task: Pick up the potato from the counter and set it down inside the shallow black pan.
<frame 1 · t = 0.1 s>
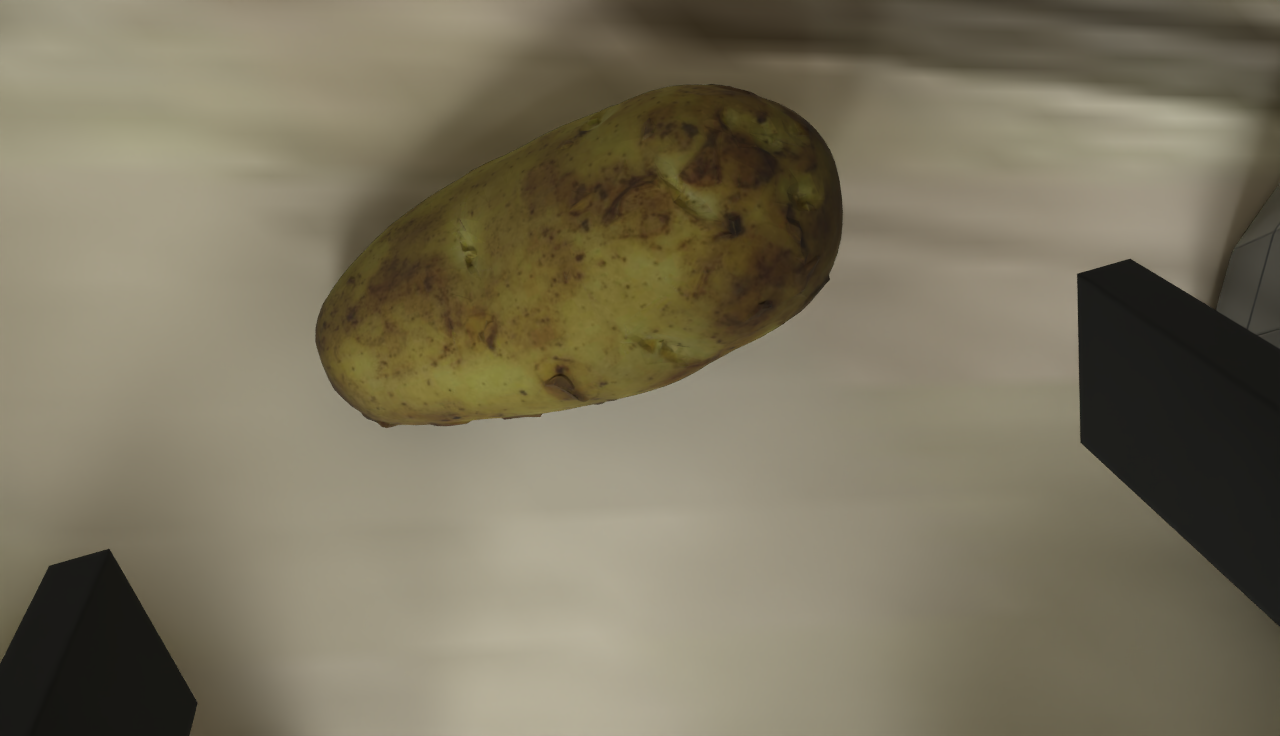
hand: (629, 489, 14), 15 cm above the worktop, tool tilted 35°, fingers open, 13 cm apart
potato: (576, 295, 31), on the worktop
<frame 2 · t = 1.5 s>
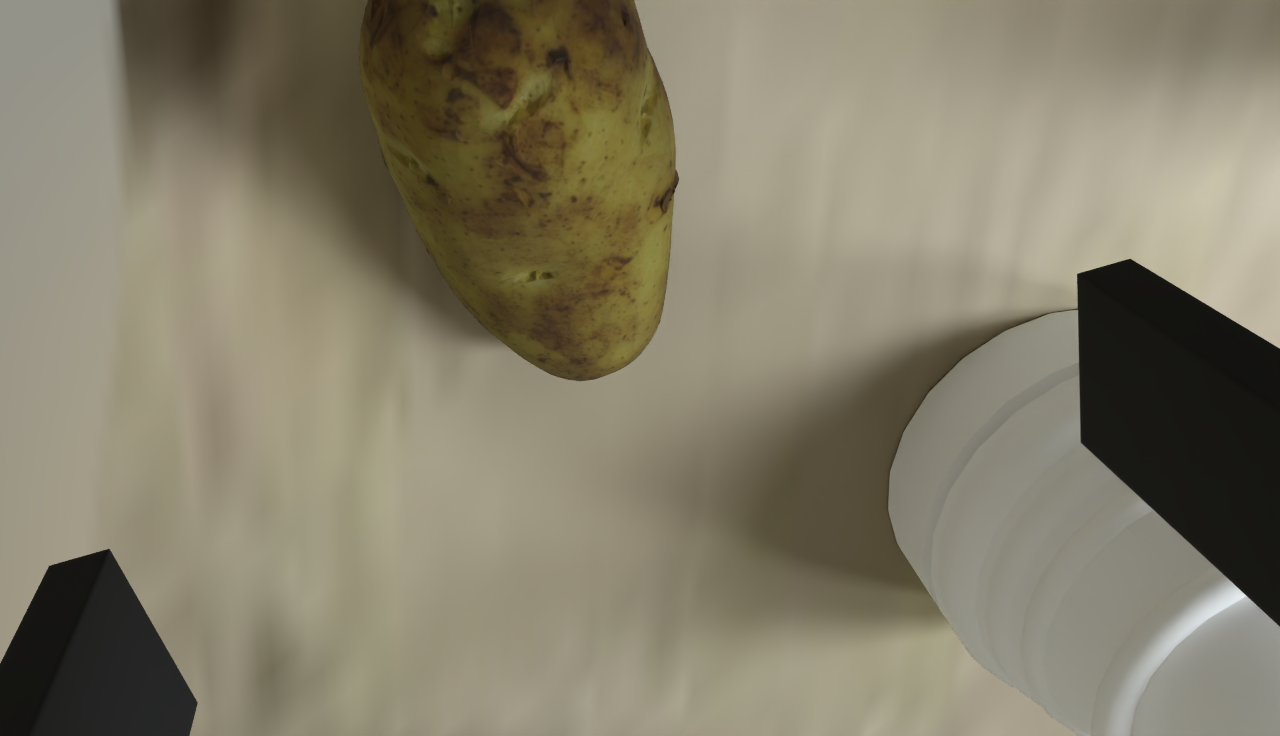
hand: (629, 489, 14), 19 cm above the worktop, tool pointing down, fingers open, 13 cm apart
potato: (517, 133, 31), on the worktop
honey pot: (1049, 463, 40), on the worktop
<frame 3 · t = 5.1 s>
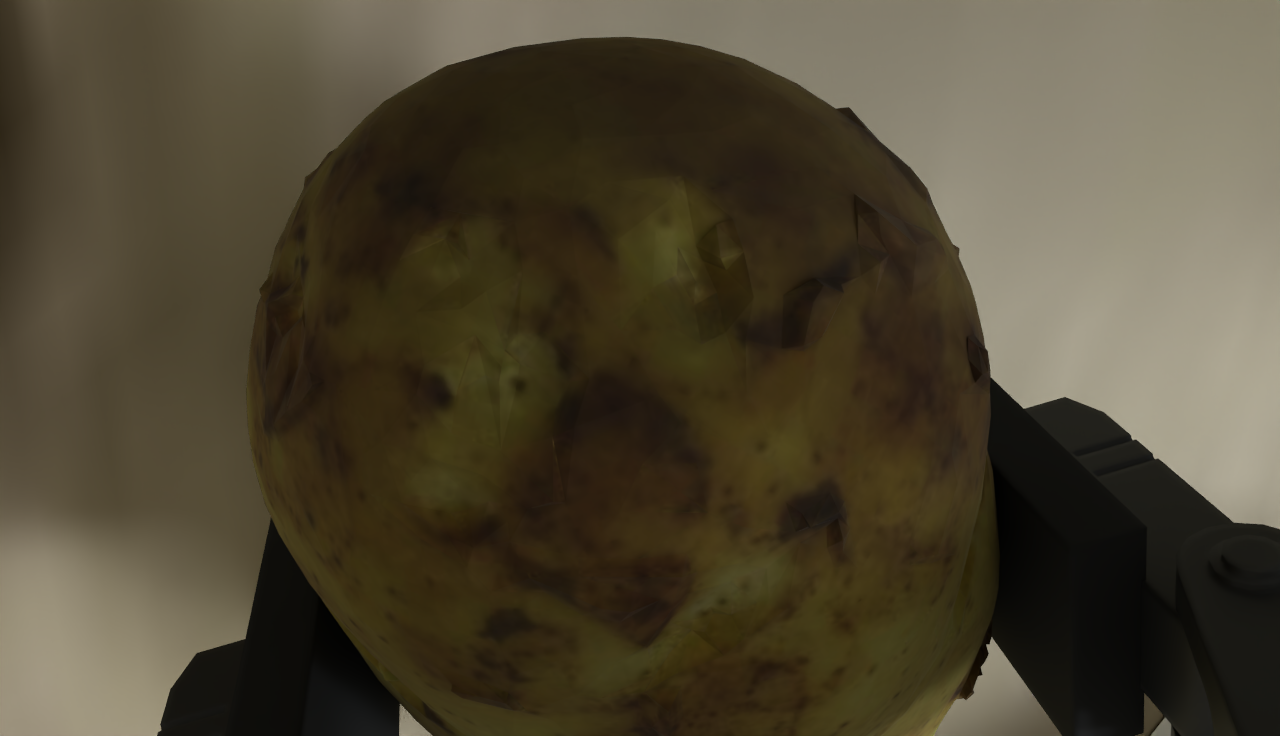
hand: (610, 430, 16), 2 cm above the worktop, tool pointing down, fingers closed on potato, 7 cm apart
potato: (593, 419, 16), point 2 cm above the worktop, touching gripper
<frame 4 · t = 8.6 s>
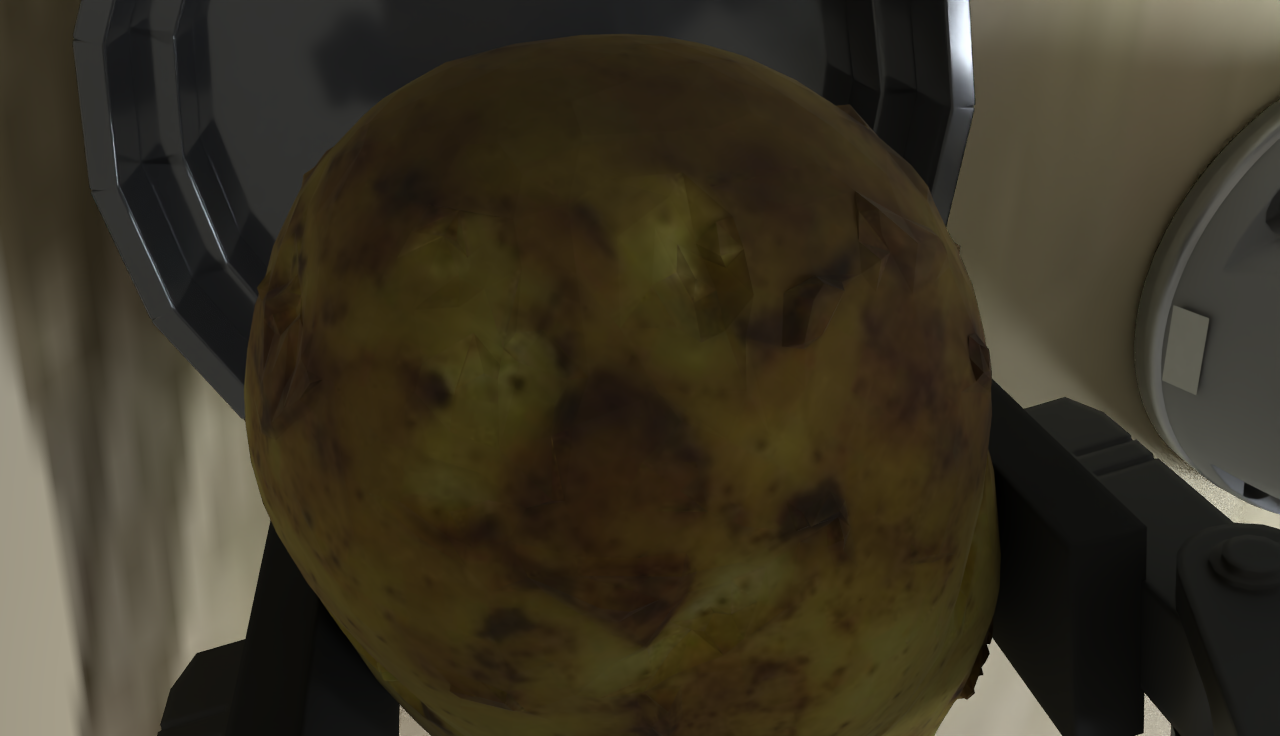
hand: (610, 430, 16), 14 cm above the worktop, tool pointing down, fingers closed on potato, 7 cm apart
potato: (593, 418, 16), point 13 cm above the worktop, touching gripper
pan: (538, 100, 27), on the worktop
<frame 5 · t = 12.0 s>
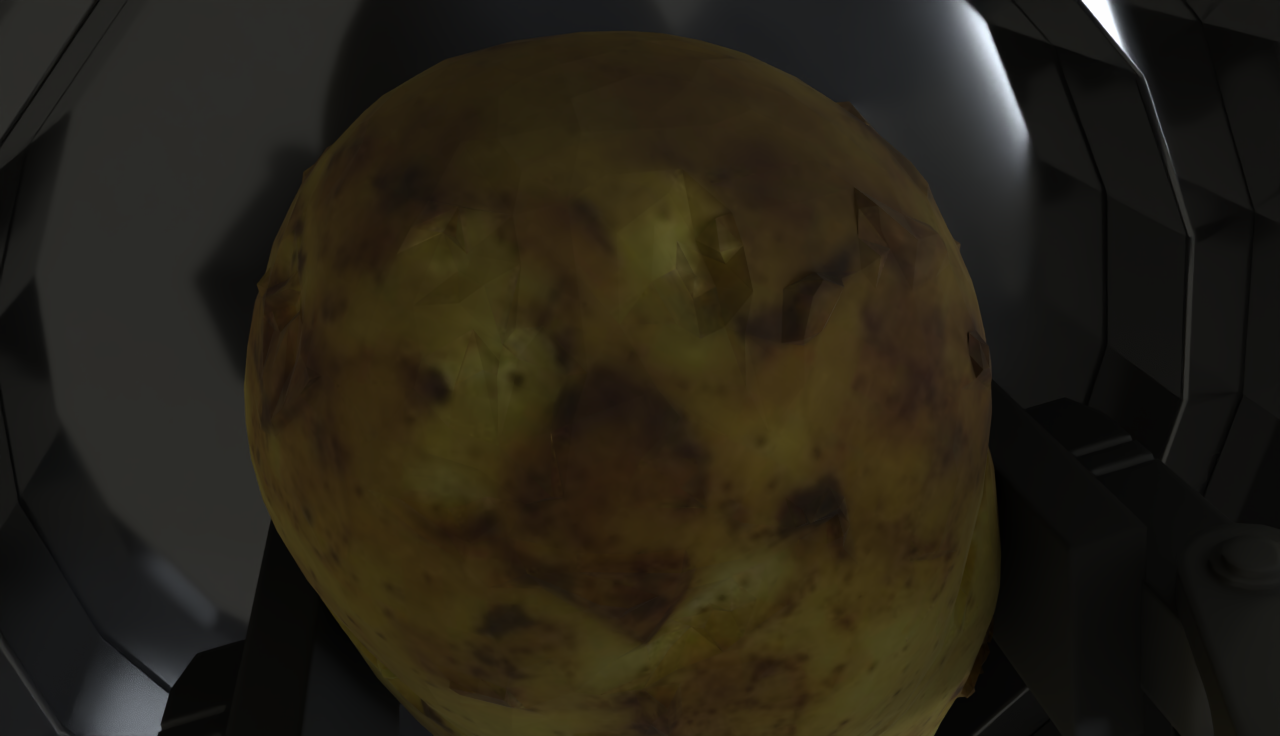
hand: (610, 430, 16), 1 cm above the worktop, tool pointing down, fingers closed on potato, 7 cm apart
potato: (594, 417, 16), resting on pan, touching gripper
pan: (595, 399, 17), on the worktop
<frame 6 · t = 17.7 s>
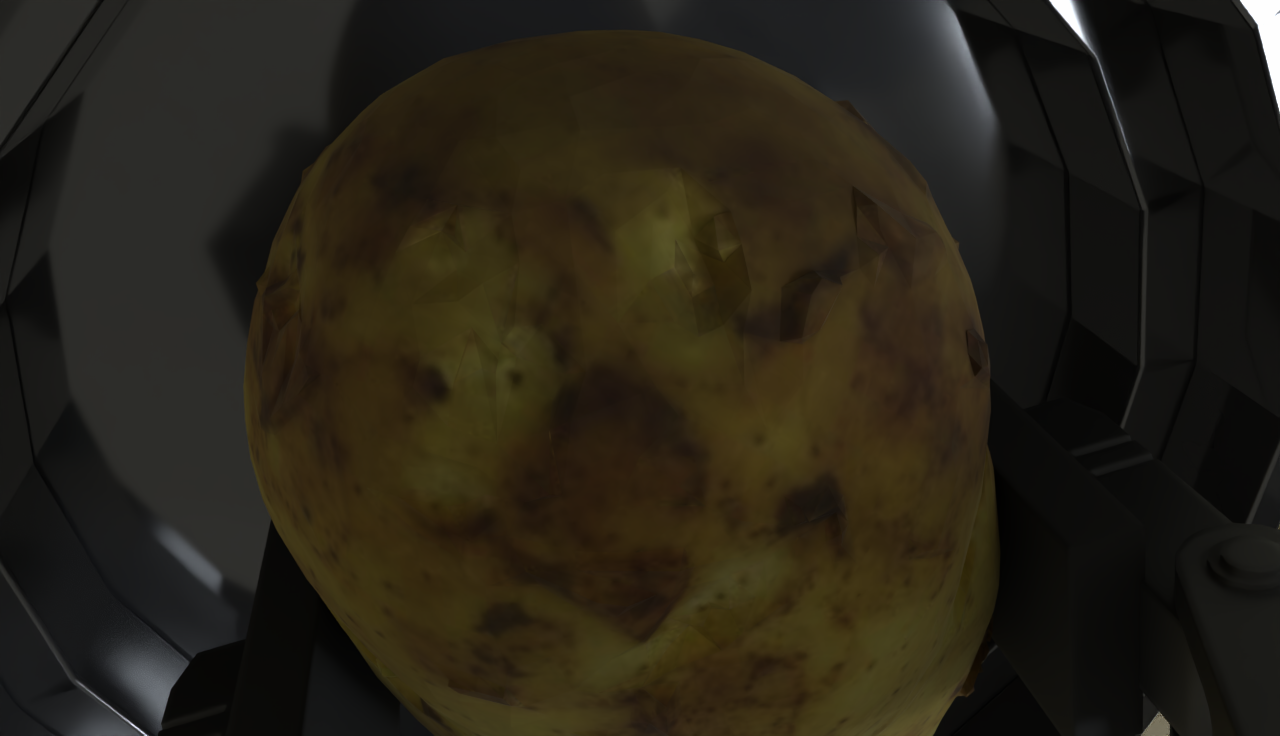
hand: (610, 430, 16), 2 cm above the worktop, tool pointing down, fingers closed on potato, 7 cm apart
potato: (593, 416, 16), point 1 cm above the worktop, touching gripper
pan: (582, 368, 17), on the worktop
when the fingers open (3 cm above the worktop, at t = 23.4 s): potato drops 2 cm, resting on pan.
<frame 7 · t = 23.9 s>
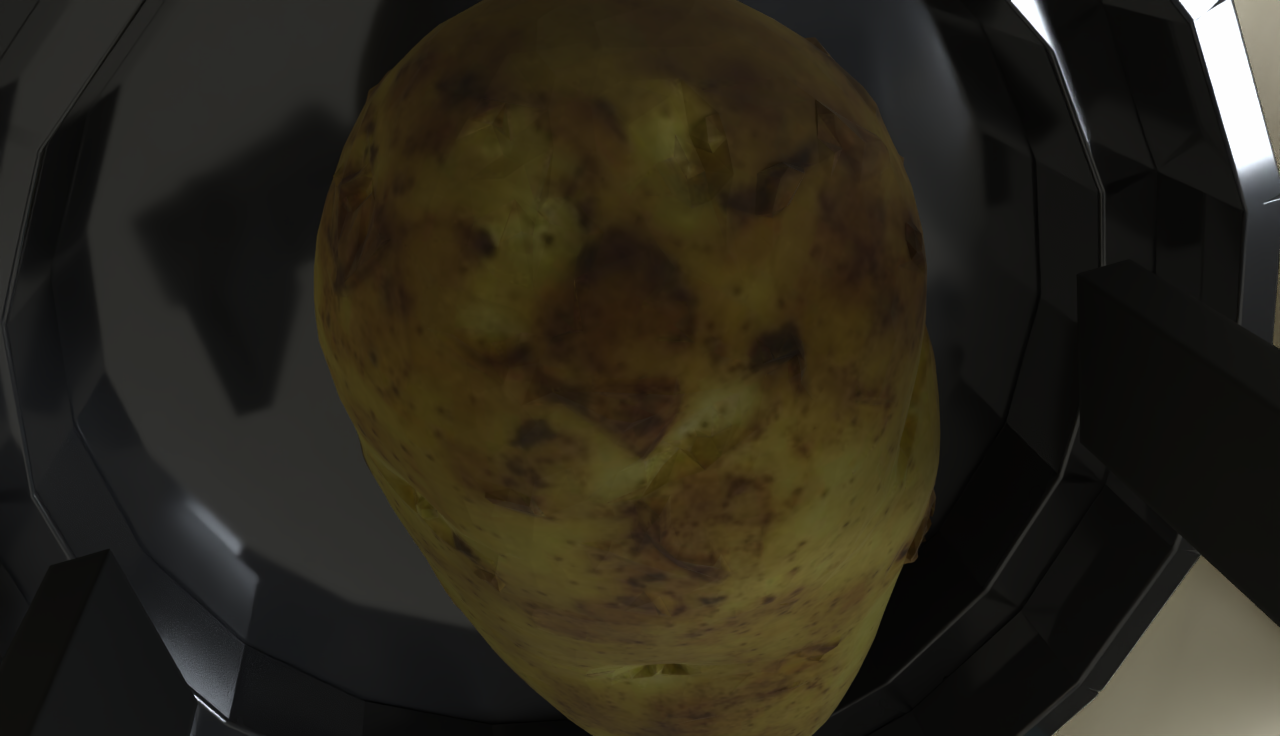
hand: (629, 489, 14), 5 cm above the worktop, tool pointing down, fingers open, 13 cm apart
potato: (595, 342, 18), resting on pan
pan: (582, 342, 19), on the worktop
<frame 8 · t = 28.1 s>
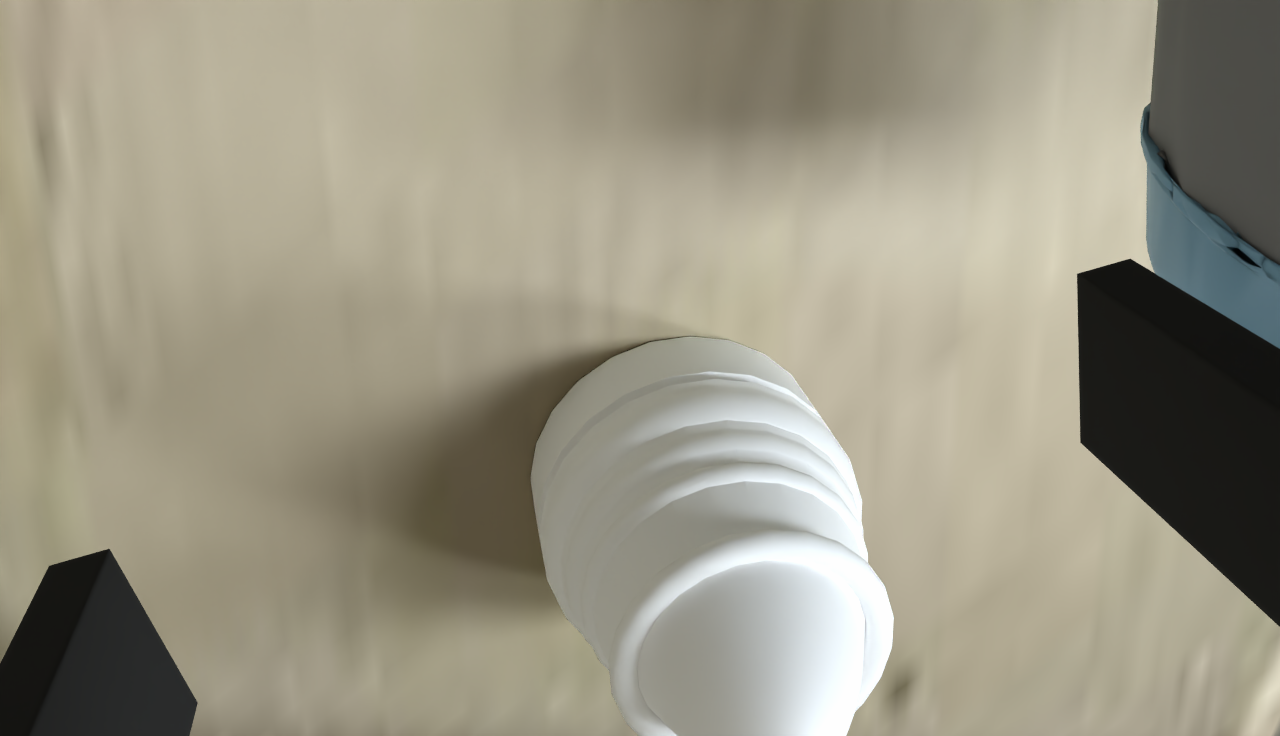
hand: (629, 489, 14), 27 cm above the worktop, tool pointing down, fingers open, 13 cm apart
honey pot: (677, 468, 47), on the worktop
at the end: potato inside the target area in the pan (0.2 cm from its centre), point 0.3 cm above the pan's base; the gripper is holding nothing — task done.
